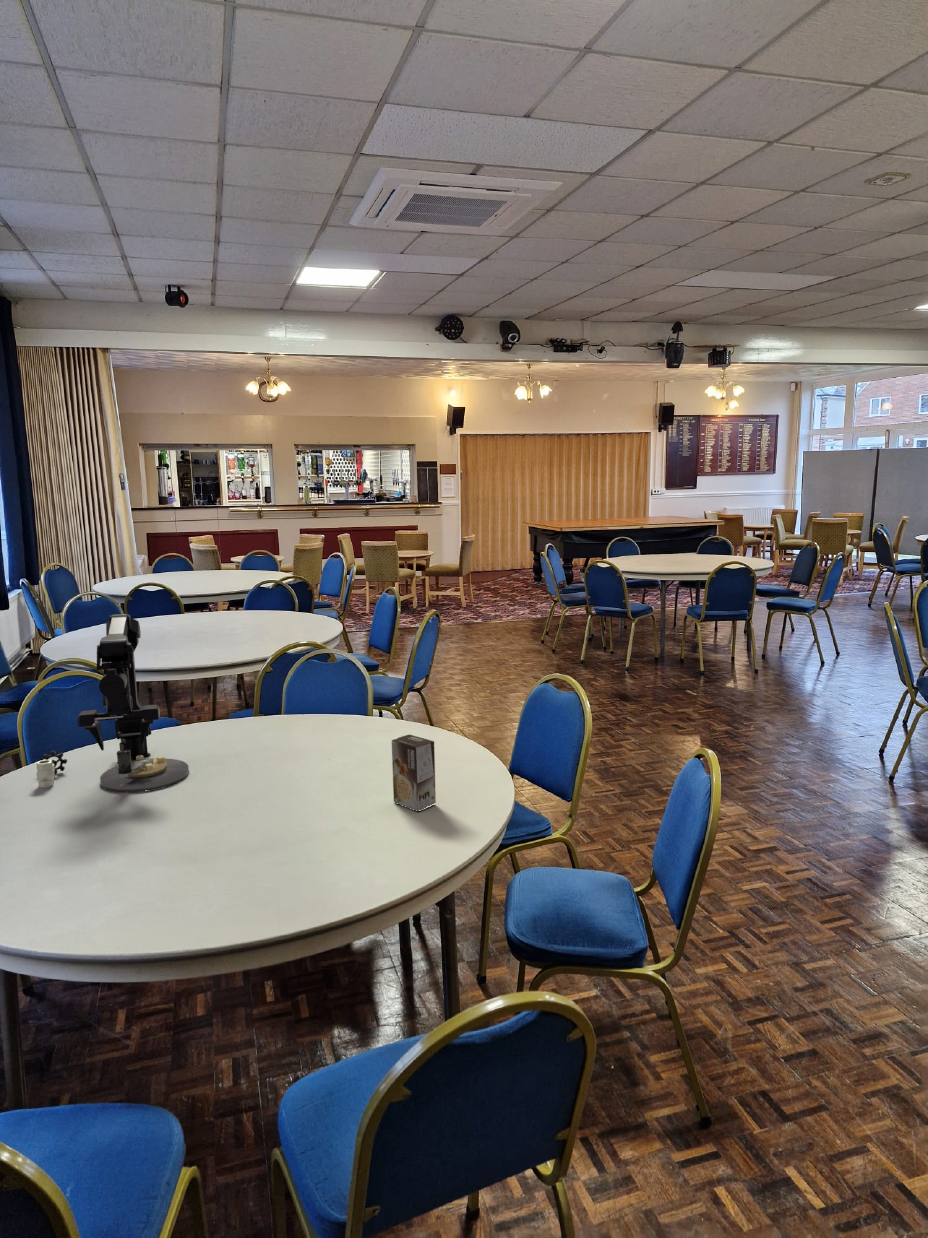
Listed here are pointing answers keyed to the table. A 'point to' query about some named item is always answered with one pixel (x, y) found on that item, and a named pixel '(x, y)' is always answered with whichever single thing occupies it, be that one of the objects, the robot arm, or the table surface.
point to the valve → (49, 769)
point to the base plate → (145, 778)
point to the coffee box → (413, 772)
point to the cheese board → (139, 765)
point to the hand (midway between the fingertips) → (122, 748)
